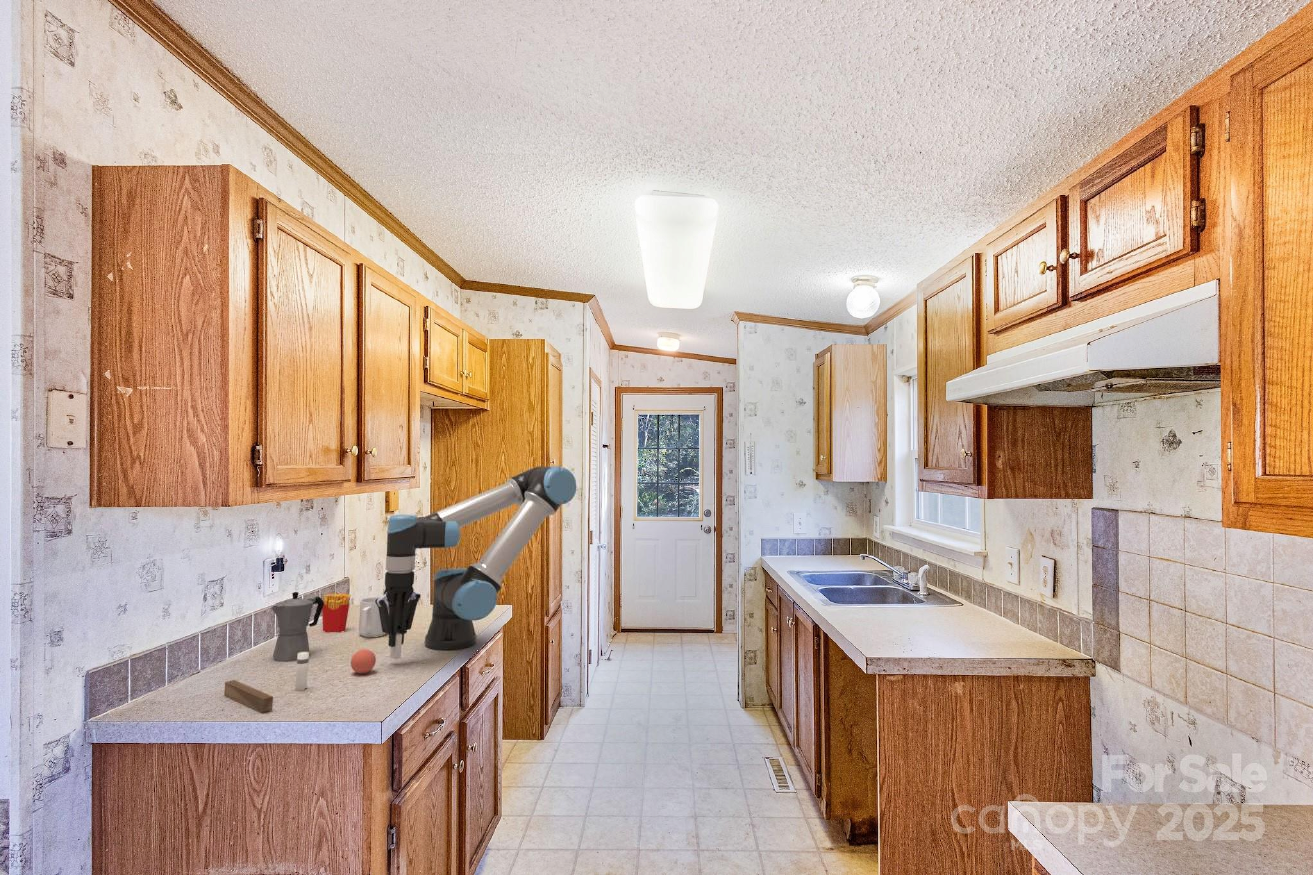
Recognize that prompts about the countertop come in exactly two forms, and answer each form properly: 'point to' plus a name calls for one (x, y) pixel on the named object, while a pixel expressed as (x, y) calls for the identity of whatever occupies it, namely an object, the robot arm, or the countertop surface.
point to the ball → (363, 661)
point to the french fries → (335, 612)
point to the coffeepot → (294, 626)
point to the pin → (302, 670)
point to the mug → (370, 618)
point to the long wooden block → (248, 696)
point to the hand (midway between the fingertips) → (395, 657)
